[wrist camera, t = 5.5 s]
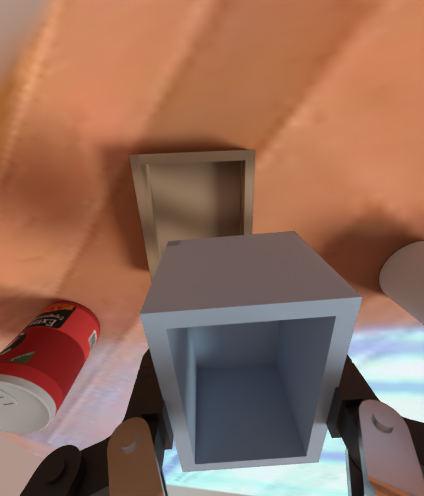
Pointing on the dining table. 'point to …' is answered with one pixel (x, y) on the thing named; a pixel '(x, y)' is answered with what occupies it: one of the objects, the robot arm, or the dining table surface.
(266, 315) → the small crate
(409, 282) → the mug
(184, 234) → the box
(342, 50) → the dining table surface
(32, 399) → the canned food
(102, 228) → the dining table surface
